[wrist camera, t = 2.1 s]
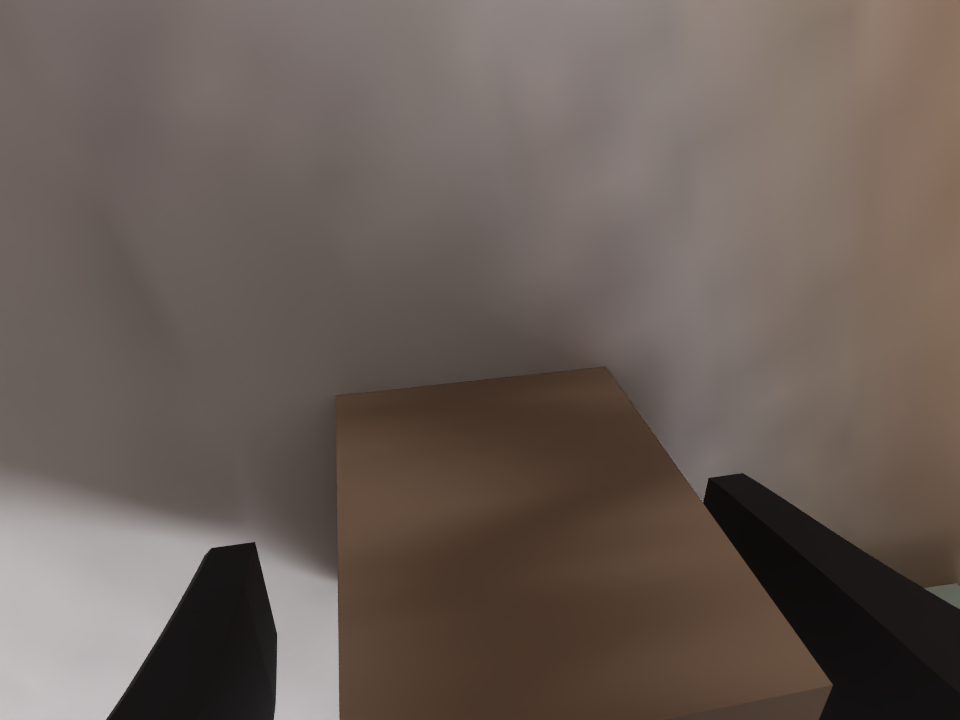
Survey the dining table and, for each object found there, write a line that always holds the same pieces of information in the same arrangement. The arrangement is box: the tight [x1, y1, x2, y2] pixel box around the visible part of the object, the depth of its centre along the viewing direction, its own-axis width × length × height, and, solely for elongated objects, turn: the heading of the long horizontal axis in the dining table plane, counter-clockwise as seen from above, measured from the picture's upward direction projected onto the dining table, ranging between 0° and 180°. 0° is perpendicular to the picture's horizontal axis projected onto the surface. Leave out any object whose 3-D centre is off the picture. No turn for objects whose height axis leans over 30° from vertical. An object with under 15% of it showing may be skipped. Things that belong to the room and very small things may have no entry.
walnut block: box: [336, 367, 833, 720], centre depth 9 cm, size 4×4×6 cm
